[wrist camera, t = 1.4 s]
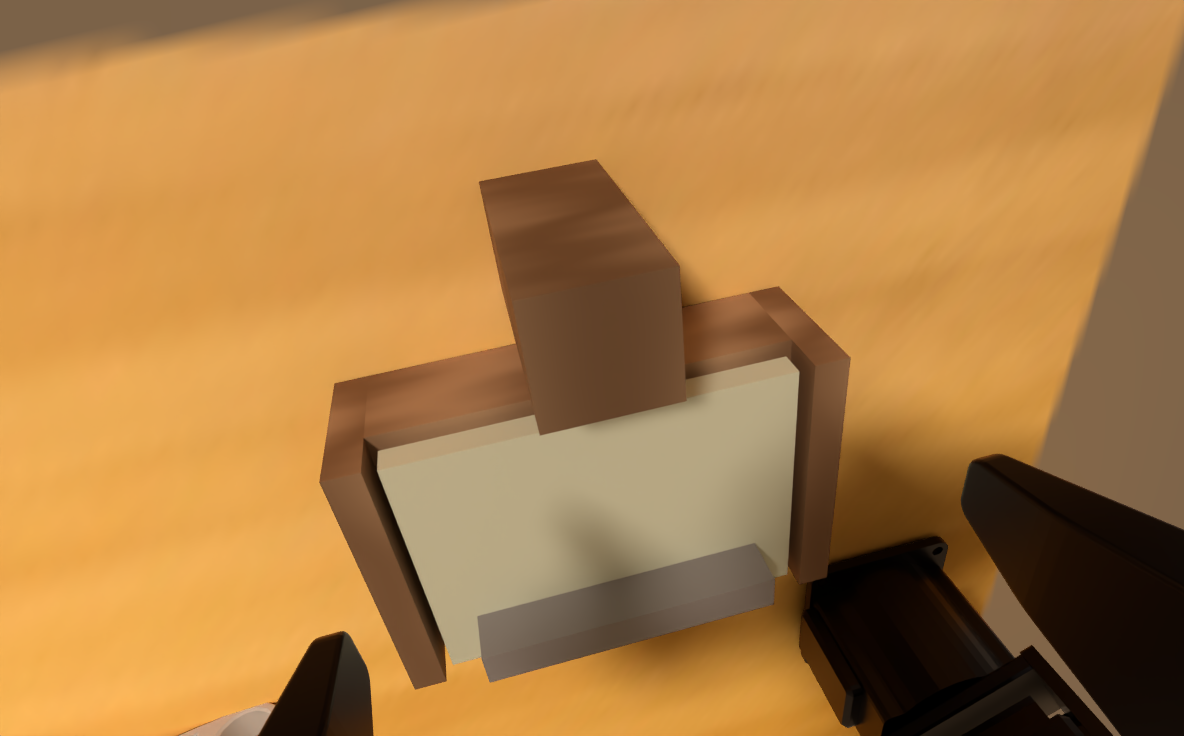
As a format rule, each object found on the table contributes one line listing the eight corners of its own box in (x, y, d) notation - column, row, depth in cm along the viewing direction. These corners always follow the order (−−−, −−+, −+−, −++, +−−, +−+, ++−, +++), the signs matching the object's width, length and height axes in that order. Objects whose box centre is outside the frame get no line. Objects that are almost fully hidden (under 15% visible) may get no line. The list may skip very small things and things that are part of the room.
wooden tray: (778, 286, 22) (850, 357, 19) (771, 490, 27) (826, 577, 24) (334, 383, 21) (319, 482, 17) (413, 581, 26) (415, 689, 22)
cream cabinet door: (786, 356, 20) (826, 402, 18) (777, 556, 24) (807, 610, 22) (378, 451, 18) (374, 512, 16) (451, 643, 23) (456, 708, 21)
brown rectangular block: (596, 159, 19) (679, 266, 13) (608, 266, 21) (686, 401, 15) (478, 181, 18) (511, 301, 13) (501, 288, 20) (539, 435, 15)
